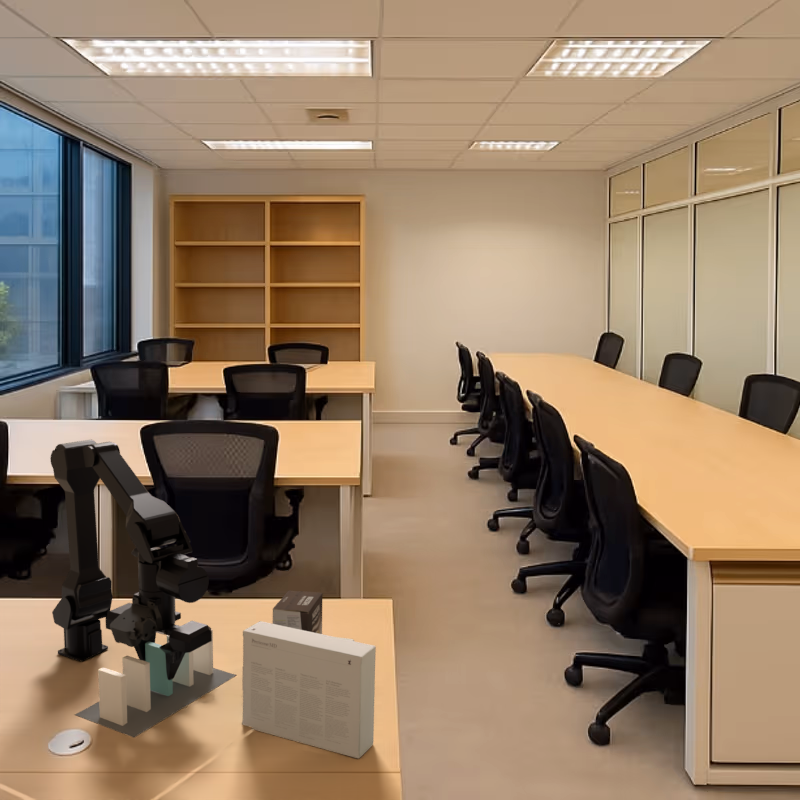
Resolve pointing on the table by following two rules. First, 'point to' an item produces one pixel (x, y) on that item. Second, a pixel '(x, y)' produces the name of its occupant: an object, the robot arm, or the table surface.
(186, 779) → the table surface
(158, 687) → the teal tile
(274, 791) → the table surface
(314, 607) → the coffee box
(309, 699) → the skincare box
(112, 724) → the mat
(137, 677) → the domino
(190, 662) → the domino
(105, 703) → the domino
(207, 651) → the domino
